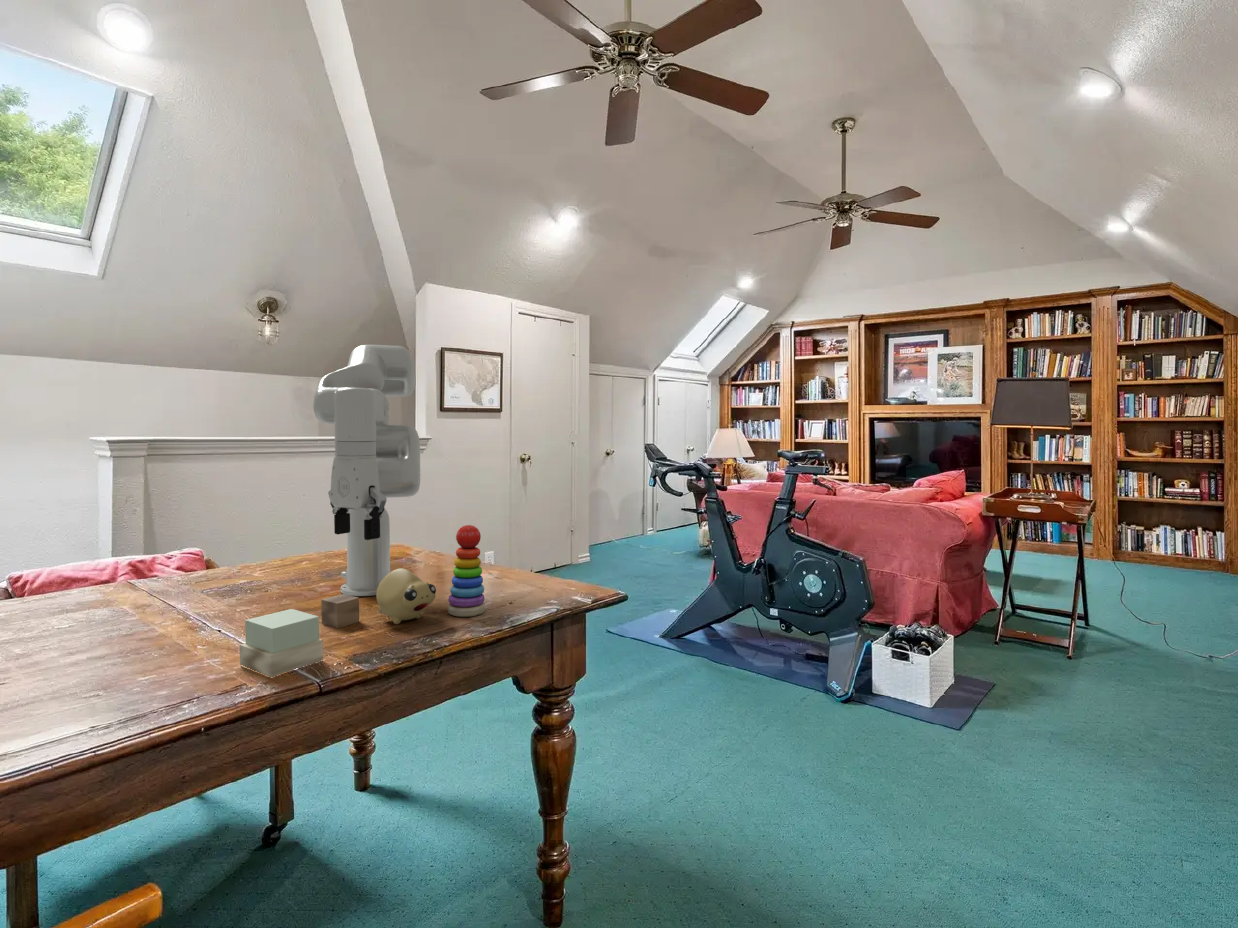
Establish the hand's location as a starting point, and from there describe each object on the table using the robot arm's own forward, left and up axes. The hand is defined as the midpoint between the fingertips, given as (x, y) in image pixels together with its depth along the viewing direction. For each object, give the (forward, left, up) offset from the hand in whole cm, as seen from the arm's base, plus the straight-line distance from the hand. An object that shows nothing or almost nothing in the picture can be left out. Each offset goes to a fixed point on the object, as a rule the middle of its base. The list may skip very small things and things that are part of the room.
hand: (357, 536), depth 130 cm
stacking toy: (+13, +17, -18) cm, 28 cm away
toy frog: (+7, +6, -18) cm, 20 cm away
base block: (+8, -21, -18) cm, 29 cm away
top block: (+8, -21, -14) cm, 26 cm away
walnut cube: (-3, -2, -18) cm, 18 cm away
